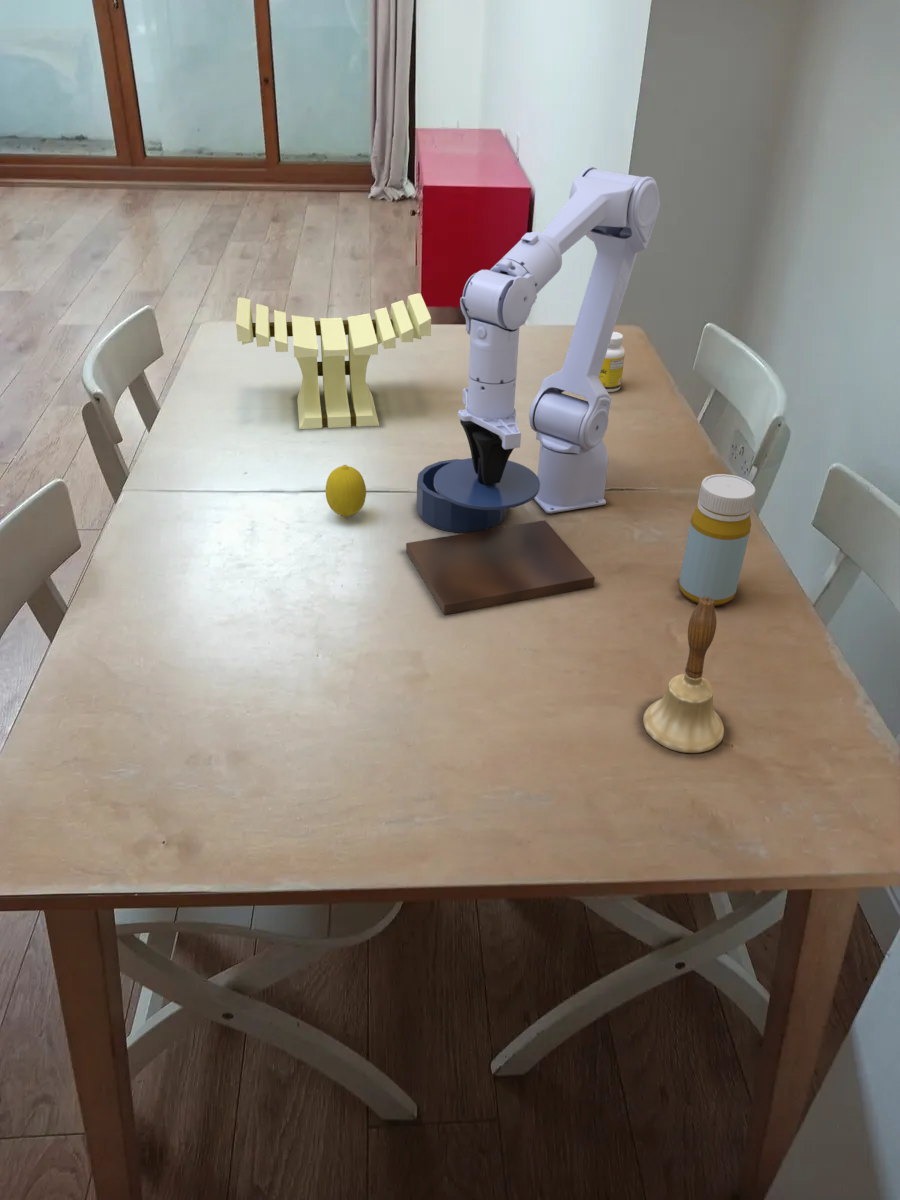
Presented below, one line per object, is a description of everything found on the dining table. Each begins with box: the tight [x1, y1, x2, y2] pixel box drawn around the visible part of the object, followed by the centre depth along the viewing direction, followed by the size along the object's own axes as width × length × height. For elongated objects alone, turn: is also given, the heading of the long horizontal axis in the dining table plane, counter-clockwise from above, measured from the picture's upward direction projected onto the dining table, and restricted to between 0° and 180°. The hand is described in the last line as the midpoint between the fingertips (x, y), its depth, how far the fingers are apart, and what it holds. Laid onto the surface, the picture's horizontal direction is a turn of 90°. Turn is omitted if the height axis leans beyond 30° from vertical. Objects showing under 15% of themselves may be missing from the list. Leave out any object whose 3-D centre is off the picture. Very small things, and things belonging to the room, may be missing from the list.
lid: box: [434, 455, 540, 510], centre depth 123 cm, size 14×14×4 cm
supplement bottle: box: [599, 331, 626, 393], centre depth 174 cm, size 5×5×10 cm
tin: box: [416, 458, 508, 534], centre depth 137 cm, size 13×13×5 cm
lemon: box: [325, 464, 367, 519], centre depth 133 cm, size 6×6×8 cm
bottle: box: [678, 473, 756, 607], centre depth 118 cm, size 7×7×15 cm
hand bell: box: [642, 596, 725, 754], centre depth 97 cm, size 8×8×16 cm
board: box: [405, 519, 596, 616], centre depth 125 cm, size 20×15×2 cm
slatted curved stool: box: [235, 292, 432, 430], centre depth 161 cm, size 30×16×18 cm, turn 99°
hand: (487, 477), depth 124 cm, fingers closed on lid, 2 cm apart
